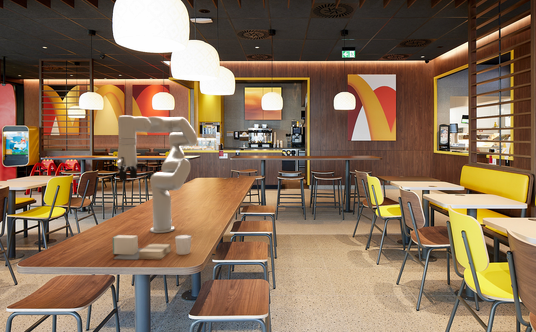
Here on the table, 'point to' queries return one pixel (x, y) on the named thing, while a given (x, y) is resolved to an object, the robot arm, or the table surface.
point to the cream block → (125, 244)
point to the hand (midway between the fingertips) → (128, 179)
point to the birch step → (154, 251)
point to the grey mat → (129, 256)
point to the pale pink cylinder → (183, 244)
